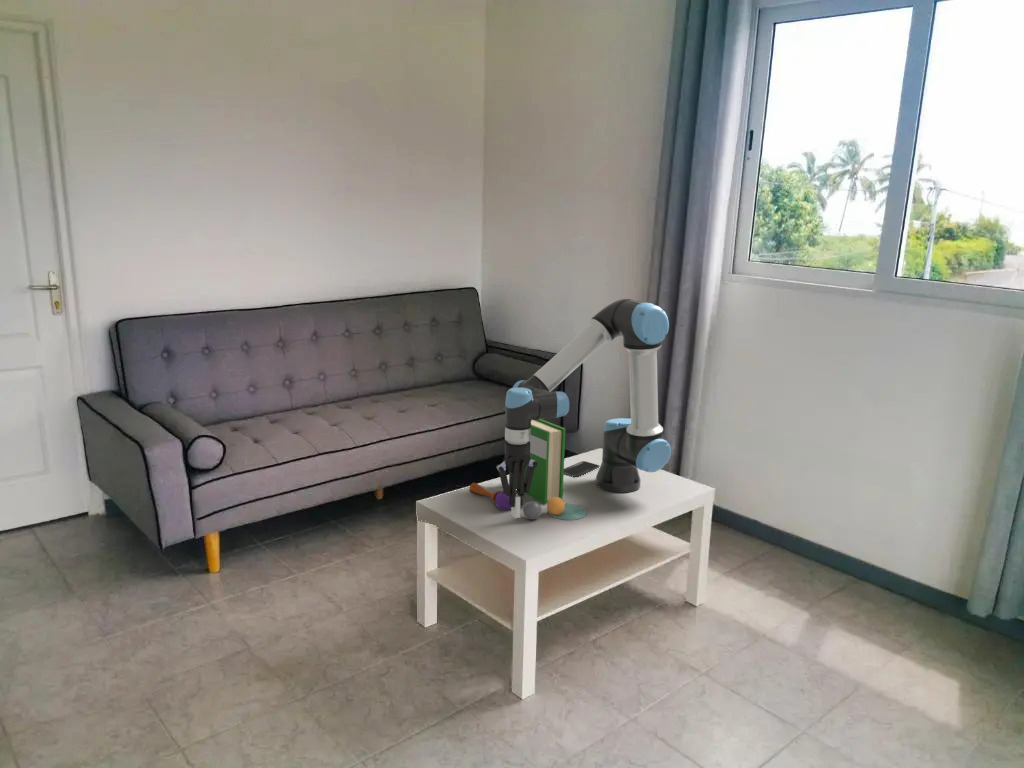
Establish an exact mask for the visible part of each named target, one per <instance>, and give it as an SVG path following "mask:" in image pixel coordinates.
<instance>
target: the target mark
mask: <svg viewBox="0 0 1024 768" xmlns="http://www.w3.org/2000/svg"><path fill="white" fill-rule="evenodd" d="M547 513H548V514H549V515H550V516H551V517H553V518H555V519H557V520H562V521H563V520H564V521H575V520H576V519H577V520H580V518H581V519H583V518H585V517H586V516H587V513H588V511H587V510H586V509H585V508H584V507H582V506H580V505H576V504H572V503H565V509H564V511H563V512H562V513H561V514H559V515H553V514H551V513H550V512H549V511H548V510H547ZM584 516H585V517H584ZM582 517H583V518H582Z"/></svg>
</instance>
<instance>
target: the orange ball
mask: <svg viewBox="0 0 1024 768" xmlns="http://www.w3.org/2000/svg"><path fill="white" fill-rule="evenodd" d="M565 504H566V503H565V501H564V500H562V499H561V498H559V497H553V498H551V499H550V500H548V501H547V504H546V509H547V512H548V511H549V512H550V513H551V514H553V515H559V514H561V513H562V512H563V511H564V509H565Z"/></svg>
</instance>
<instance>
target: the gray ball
mask: <svg viewBox="0 0 1024 768" xmlns="http://www.w3.org/2000/svg"><path fill="white" fill-rule="evenodd" d="M522 509H523V510H522V512H523V515H524V517H525V518H527V519H529V520H537V519H538V518H539V517H541V516H540V515H541V514H542V507H541V505H540V503H539V502H538V501H534V500H533V501H532V500H530V501H527V502H526V503H525V504H524V505H523V508H522Z"/></svg>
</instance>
